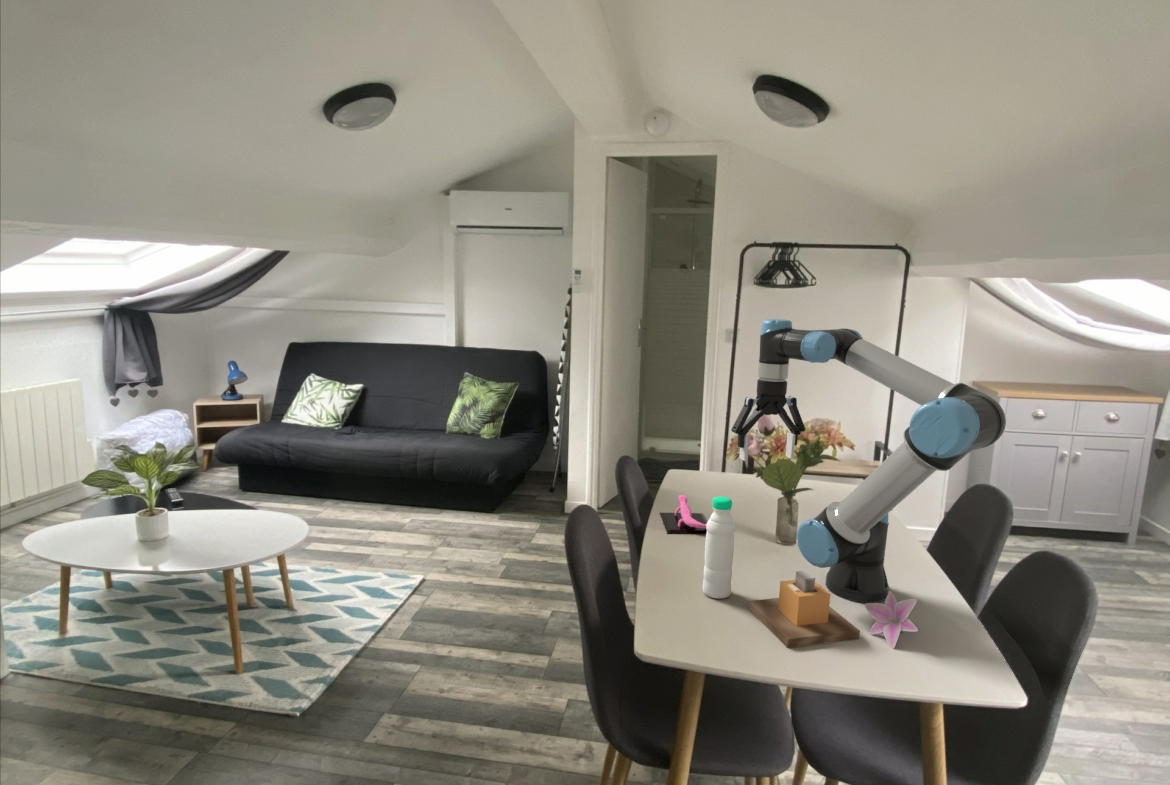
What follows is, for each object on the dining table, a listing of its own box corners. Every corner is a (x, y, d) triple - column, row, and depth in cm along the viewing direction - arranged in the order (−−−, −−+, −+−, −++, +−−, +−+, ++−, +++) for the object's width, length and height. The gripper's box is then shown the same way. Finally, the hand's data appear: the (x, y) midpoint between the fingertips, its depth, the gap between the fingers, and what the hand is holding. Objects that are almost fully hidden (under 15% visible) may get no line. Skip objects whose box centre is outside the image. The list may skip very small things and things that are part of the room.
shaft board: (813, 601, 172) (817, 556, 170) (859, 638, 154) (864, 588, 152) (747, 608, 167) (751, 561, 165) (787, 647, 150) (791, 595, 148)
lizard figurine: (701, 514, 234) (703, 493, 233) (713, 536, 214) (715, 514, 213) (658, 513, 233) (659, 492, 232) (667, 536, 214) (668, 513, 213)
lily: (860, 623, 164) (853, 596, 159) (909, 607, 162) (903, 579, 158) (884, 665, 153) (876, 637, 149) (936, 648, 152) (930, 619, 147)
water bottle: (709, 601, 170) (715, 504, 166) (697, 588, 177) (703, 494, 173) (735, 598, 172) (742, 502, 168) (722, 586, 179) (728, 493, 175)
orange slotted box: (827, 622, 157) (830, 592, 156) (796, 625, 155) (799, 595, 154) (808, 605, 165) (810, 577, 164) (778, 609, 163) (780, 579, 162)
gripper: (807, 376, 186) (800, 452, 190) (721, 377, 180) (716, 456, 183) (823, 380, 179) (816, 460, 183) (735, 382, 173) (729, 464, 176)
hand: (766, 458), depth 183 cm, fingers open, 13 cm apart
